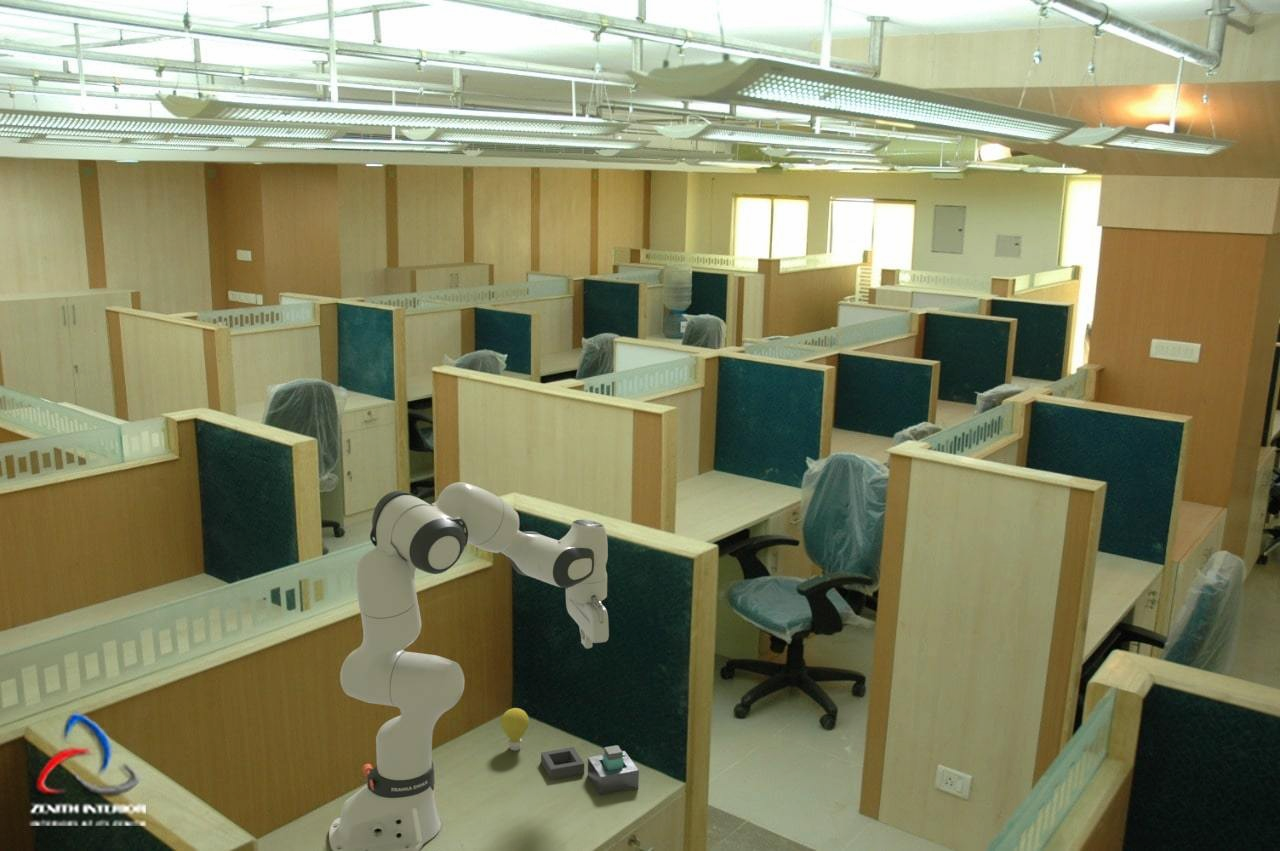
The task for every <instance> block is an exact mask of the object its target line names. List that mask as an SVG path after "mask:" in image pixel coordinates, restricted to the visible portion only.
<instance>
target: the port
mask: <svg viewBox="0 0 1280 851" xmlns="http://www.w3.org/2000/svg"><path fill="white" fill-rule="evenodd" d="M621 751H622V757H623V768H620V769H615V770H609V771H606V770H605V768H604V767H603V754H599V755H595V756H589V757H587V776H588V778H589V780H590V781H591V783H592V784H593V786H594V787H595V789H596V791H597V792H598V794H599V795H600V796H604V795H610V794H611V795H612V794H616V793H621V792H626V791H631V790H632V791H633V790H638V789H639V777H640V776H639V773H640V772H639V768H638V767H637V766H636V764H635V763H634V762H633V760H632V759H631V757H630V756H629V755H628V753H627V752H626V751H625V750H621Z"/></svg>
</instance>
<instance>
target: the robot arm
mask: <svg viewBox="0 0 1280 851" xmlns="http://www.w3.org/2000/svg"><path fill="white" fill-rule="evenodd" d="M372 514H373V515H372V518H371V519H372V520H371V527H372V528H371V530H370V534H369V536H370V537H369V539H370V541H371V543H372V545H373V546H374V549H372V550H370V551H368V552H366V553H365V554H364V555H363V556H362V557H361V559H360V560H359V562H358V564H357V569H356V592H357V593H356V594H357V599H358V600H357V601H358V605H359V612H360V613H359V614H360V617H361V622H362V631H363V633H362V634H363V638H362V643H361V645H359V646H358V647H357V648H356V649H354V650H352V651H351V652H350V653H349V654H348V656H346V658H345V659H344V661H343V663H342V664H341V665H342V666H341V668H340V675H339V677H340V678H339V679H340V684H341V687H342V690H343V692H344V694H346V695H347V696H348V697H351V698H353V699H356V700H359V701H362V702H365V703H369V704H375V705H381V706H388V707H390V706H391V707H395V708H398V709H399V710H400V715H398V716H395V717H393V718H391V719H389V720H387V721H386V722H384V724H382V725H381V726H380V728H379V730H378V731H377V734H376V738H375V745H376V746H375V748H376V750H375V752H376V753H375V754H376V765H375V766H374V768H373V765H371V763H364V765H363V766H362V768H361V769H362V774H363V775H364V776H365V777H366V785H364V786H363V787H362V788H361V789H360V788H359V790H358V791H357V792H355V793H354V794H352V795H351V796H350V797H349V798H347V800H346V801H345V802H344V804H343V805H342V808H341V813H340V817H337V818H336V819H334V820H333V822H332V823H331V825H330V826H329V831H328V832H329V833H328V842H329V846H330V848H331V851H420V849H421V848H422V847H423V845H424V844H426V843H427V842H429V841H430V840H431V839H433V838H434V837H435V836H437V834H438V833H439V831H440V830H441V826H442V824H441V820H440V819H441V818H440V816H439V814H438V810H437V806H436V801H435V793H434V790H435V784H436V783H435V782H436V780H435V779H436V778H435V776H436V774H435V766H434V765H435V764H434V763H433V762H434V761H433V759H432V758H433V757H432V755H433V754H432V752H433V750H432V746H433V735H434V734H433V733H434V729H435V726H436V724H437V721H439V719H440V718H441V716H442V715H444V713H446V712H448V711H449V710H451V709H452V708H454V707H455V706H456V705H457V703H458V702H459V701H460V699H461V697H462V696H463V693H464V690H465V675H464V672H463V669H462V667H461V666H460V664H459V663H458V662H457V661H453V660H452V659H448V658H446V657H443V656H440V655H437V654H428V653H420V652H412V651H407V650H405V649H406V648H407V647H409V646H410V645H412V644H413V643H415V641H416V640H417V639H418V638H419V635H420V633H421V630H422V624H423V623H422V618H421V612H420V606H419V601H418V594H417V589H416V585H415V573H416V569H418V570H420V571H423V572H425V573H427V574H432V575H439V574H443V573H445V572H447V571H448V570H450V569H451V568H452V567H453V566H454V565H456V563H457V562H458V560H459V559H460V558H461V557H462V554H463V553H464V549H465V547H467V545H468V544H469V545H470V546H473V547H476V548H478V549H479V550H482V551H486V552H490V553H493V554H499V553H500V554H502V555H504V556H505V557H506V559H507V560H508V561H509V563H510V565H511V566H512V568H513V569H514V570H515V572H517V574H519V575H522V576H525V577H528V578H532V579H535V580H539V581H542V582H544V583H547V584H549V585H553V586H555V587H558V588H563V589H565V604H566V610H567V613H568V614H569V616H570V617H571V618H572V619H573V620H574V621H575V623H576V624H577V625H578V627H579V633H580V634H579V635H580V640H581V641H580V643H581V644H582V645H583V647H584V649H591V648H593V645H594V644H599V643H606V642H607V641H608V640H609V636H610V633H609V632H610V629H609V615H608V614H609V613H608V610H607V608H606V607H605V605H603V602H602V601H604V600H605V599H606V598H608V573H607V562H608V557H609V555H608V554H609V553H608V550H609V549H608V535H607V530H606V527H605V526H604V525H603V524H601V523H600V522H597V521H595V520H590V519H576V520H573V521H572V523H571V525H570V526H571V527H570V529H569V531H568V532H567V533H566V534H565V535H564V536H563V537H562V538H560V539H559V540H558V539H555V538H552V537H549V536H546V535H544V534H542V533H541V532H540V533H539V532H537V531H532V530H531V531H530V530H529V531H521V530H520V516H519V514H518V512H517V511H516V509H514V508H513V506H512V505H510V504H509V503H508V502H507V501H506V500H503V499H502V498H501V497H499V496H497V495H496V494H495V493H492V492H491V491H488V490H486V489H484V488H482V487H479V486H477V485H474V484H471V483H467V482H463V481H460V482H459V481H458V482H457V481H456V482H453V483H451V484H448V485H447V486H446V487H445V488H444V489H443V490H442V491H441V492H440V493H439V495H438V497H437V500H436V501H434V502H433V503H431V504H430V503H428V502H426V501H424V500H423V499H421V498H420V497H419V496H418V495H416V494H414V493H411V492H408V491H403V490H394V491H391V492H389V493H386V494H385V495H384V496H383V497H382V498H380V500H378V502H377V503H376V505H375V508H374V510H373V513H372Z"/></svg>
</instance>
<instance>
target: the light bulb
mask: <svg viewBox="0 0 1280 851" xmlns="http://www.w3.org/2000/svg"><path fill="white" fill-rule="evenodd" d="M500 725H501V728H502V730H503V732H504V733H505V735H506V736H507V738H508V746H510V747H509V748H510V750H512V751H518V750H520V749H521V745H522V744H523V742H522V741H523V739H522V737H523V736H524V734H525V733H526V731H527V729H528V727H529V725H530V718H529V716H528V714H527V713H526V711H525V710H524V709H522V708H518V707H513V708H510V709H508V710H506V711H505V712H504V714H502V717H501V720H500Z"/></svg>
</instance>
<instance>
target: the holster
mask: <svg viewBox="0 0 1280 851" xmlns="http://www.w3.org/2000/svg"><path fill="white" fill-rule="evenodd" d="M568 760H569V762H568ZM557 762H559V763H562V764H558V763H557ZM564 762H566V763H564ZM567 762H568V763H567ZM556 763H557V764H556ZM540 764H541V765H542V767H543V766H544V767H543V769H544V770H545V773H548V774H547V776H548V777H549V779H550V780H555V779H554V778H557V779H562V778H565V777H572V775H573V776H579V775H582V774H583V775H584V774H585V762H584V760H583V759H582V758H581V756H580V754H579V753H578V752H577V750H576V748H575V747H574V746H572V747H566V748H560V749H553V750H548V751H542V752H541V753H540ZM555 764H556V765H555ZM559 777H560V778H559ZM561 777H562V778H561Z"/></svg>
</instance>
